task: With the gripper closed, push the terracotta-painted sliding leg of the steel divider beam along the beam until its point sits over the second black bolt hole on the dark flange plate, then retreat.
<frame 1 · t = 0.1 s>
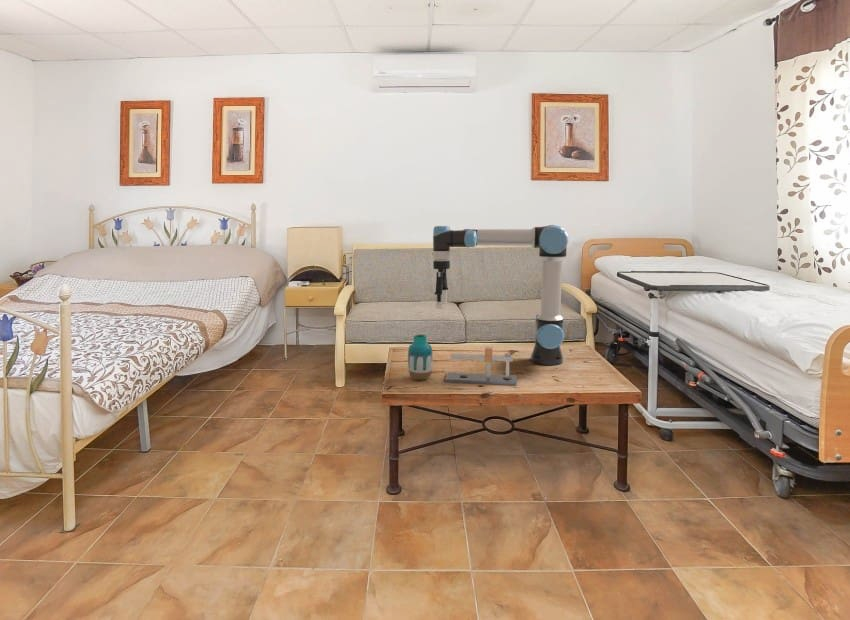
hand: (441, 306, 244), 28 cm above the table, fingers open, 13 cm apart
sliding leg: (488, 362, 224), point 8 cm above the table, slide at -3.0 cm
flange plate: (481, 380, 225), on the table
divider beam: (481, 365, 224), on the flange plate, point 6 cm above the table
vase: (420, 379, 228), on the table
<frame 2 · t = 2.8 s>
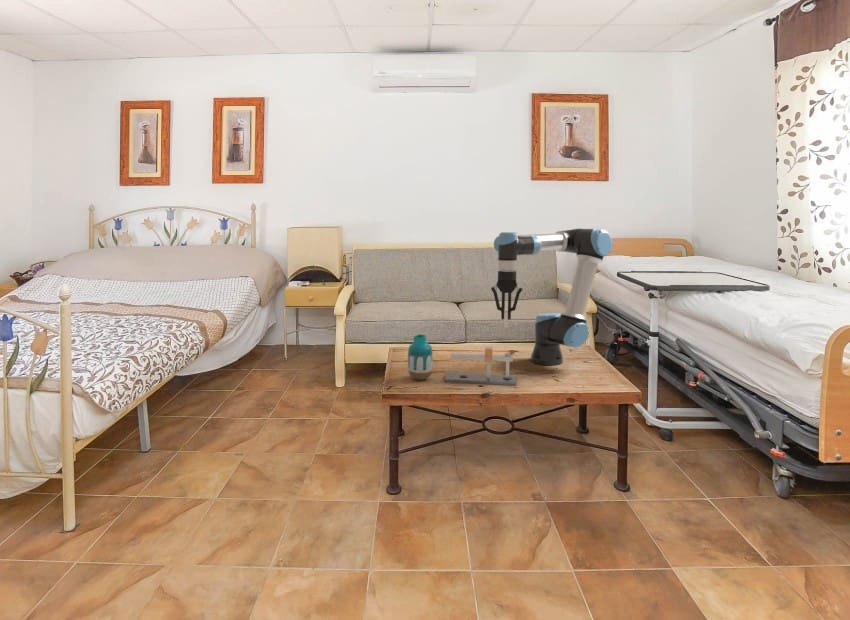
hand: (505, 326, 219), 24 cm above the table, fingers closed
nothing on the table moved.
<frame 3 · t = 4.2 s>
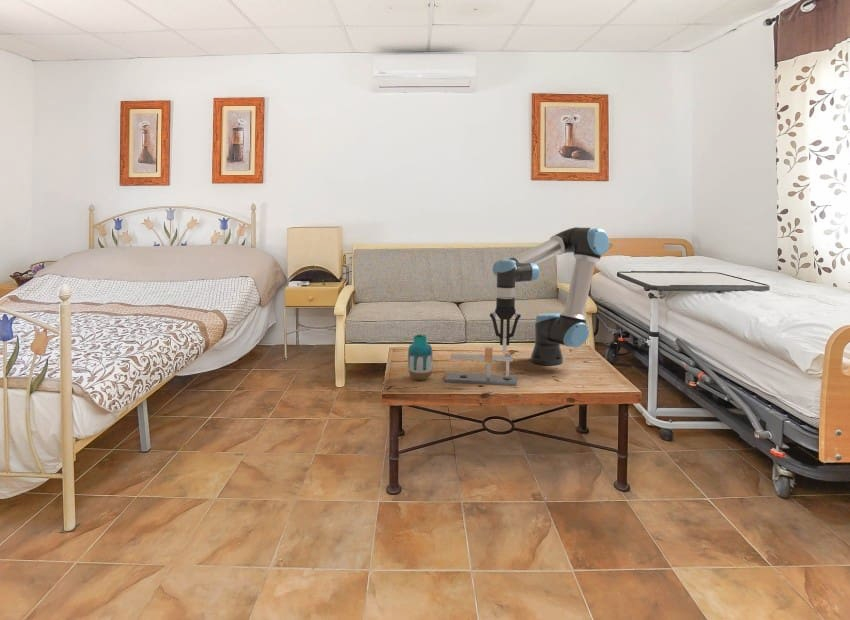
hand: (504, 352, 222), 12 cm above the table, fingers closed
nothing on the table moved.
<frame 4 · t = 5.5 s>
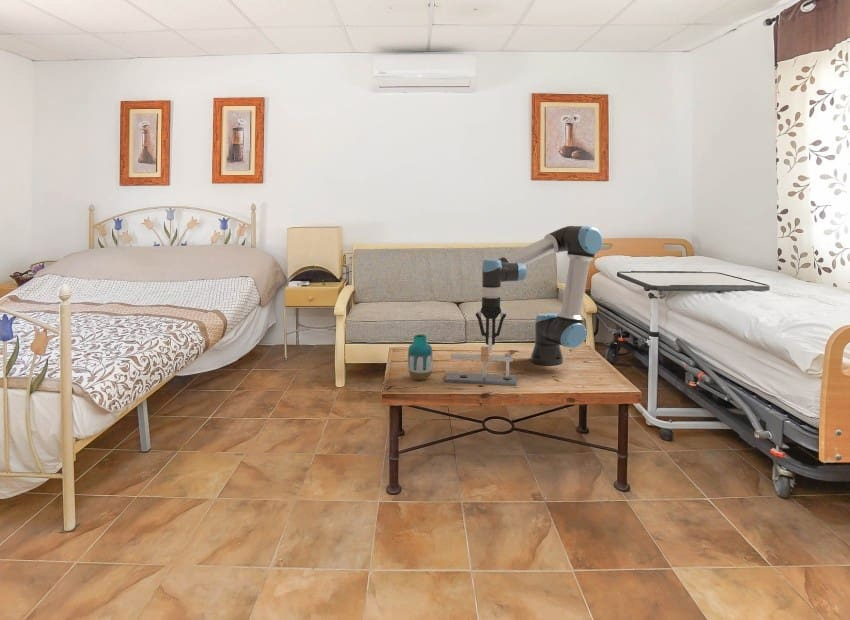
hand: (490, 351, 223), 13 cm above the table, fingers closed
sliding leg: (484, 361, 224), point 8 cm above the table, slide at -1.3 cm, touching gripper
everything else where it was.
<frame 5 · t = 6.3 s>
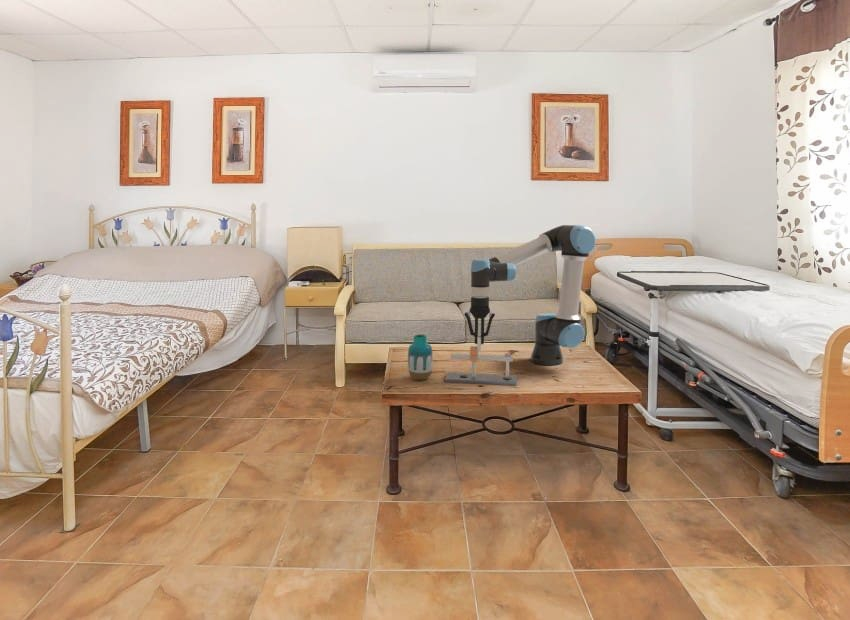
hand: (479, 351, 223), 13 cm above the table, fingers closed
sliding leg: (473, 361, 225), point 8 cm above the table, slide at 3.3 cm, touching gripper
everything else where it was.
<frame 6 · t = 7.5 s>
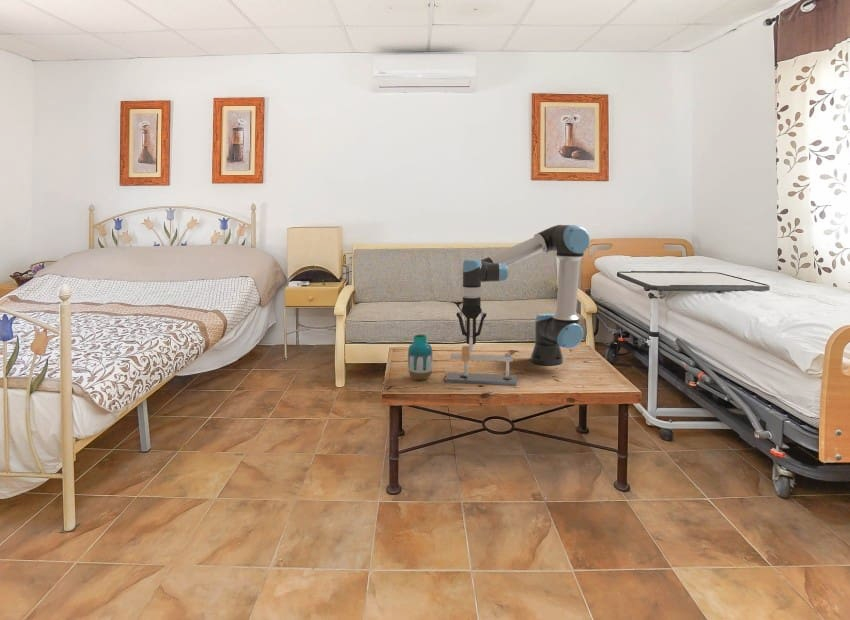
hand: (471, 351, 224), 12 cm above the table, fingers closed
sliding leg: (465, 361, 225), point 8 cm above the table, slide at 6.7 cm, touching gripper
everything else where it was.
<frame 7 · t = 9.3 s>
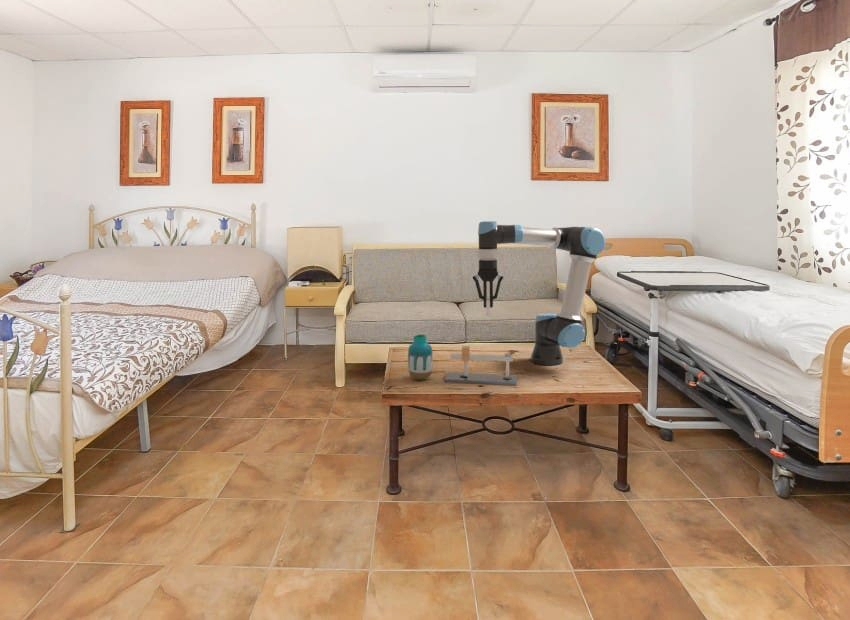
hand: (488, 315, 222), 28 cm above the table, fingers closed
sliding leg: (465, 361, 225), point 8 cm above the table, slide at 6.7 cm
everything else where it was.
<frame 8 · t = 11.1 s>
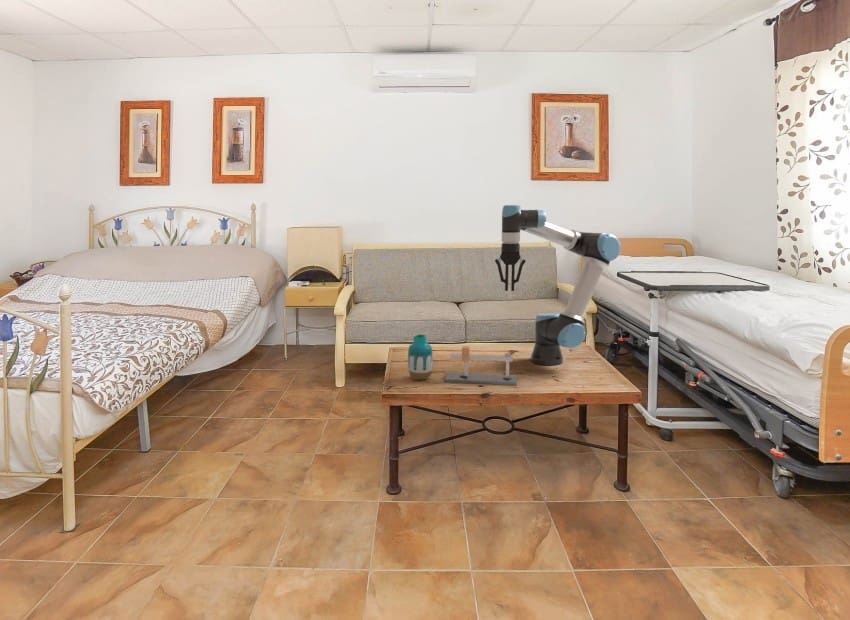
hand: (509, 298, 224), 34 cm above the table, fingers closed
nothing on the table moved.
at the end: sliding leg slide at 6.7 cm; sliding leg touching nothing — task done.
